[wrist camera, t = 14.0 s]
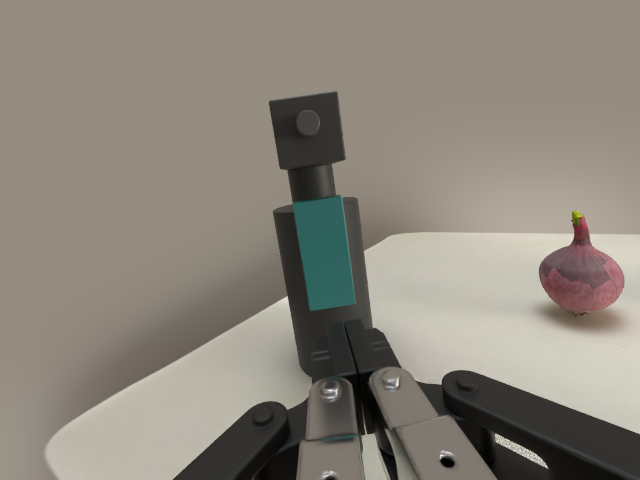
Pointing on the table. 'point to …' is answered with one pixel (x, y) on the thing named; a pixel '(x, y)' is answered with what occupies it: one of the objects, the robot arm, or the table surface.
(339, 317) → the spray bottle
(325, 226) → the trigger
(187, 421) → the table surface
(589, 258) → the vegetable
